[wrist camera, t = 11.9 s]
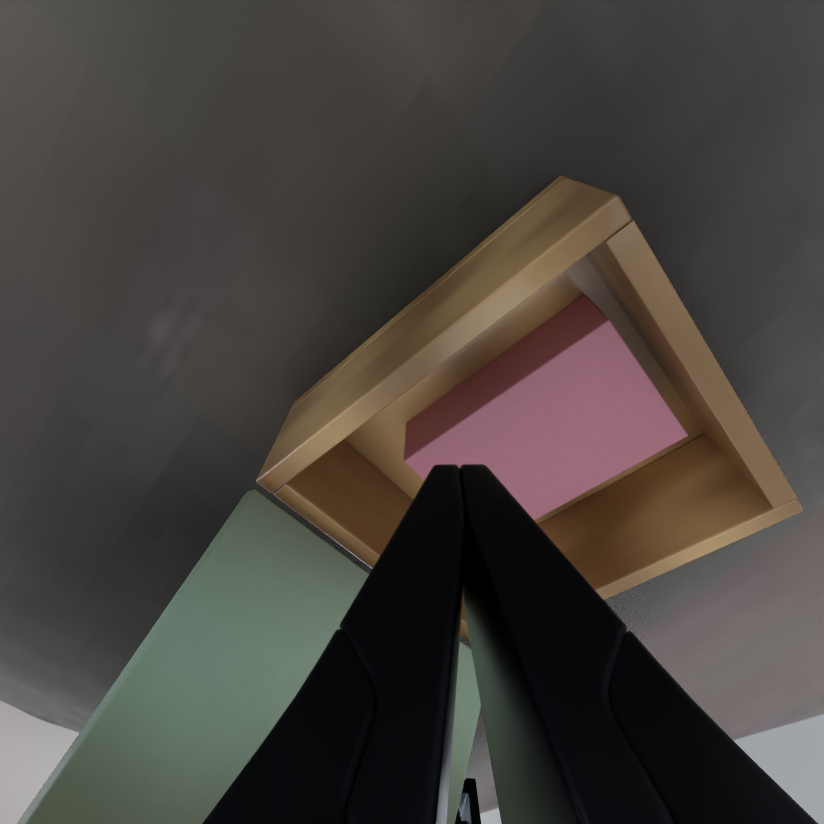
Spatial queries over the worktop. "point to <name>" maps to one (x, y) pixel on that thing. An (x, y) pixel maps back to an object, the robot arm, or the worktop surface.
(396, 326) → the box
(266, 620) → the lid
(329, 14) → the worktop surface
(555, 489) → the pink rectangular block
